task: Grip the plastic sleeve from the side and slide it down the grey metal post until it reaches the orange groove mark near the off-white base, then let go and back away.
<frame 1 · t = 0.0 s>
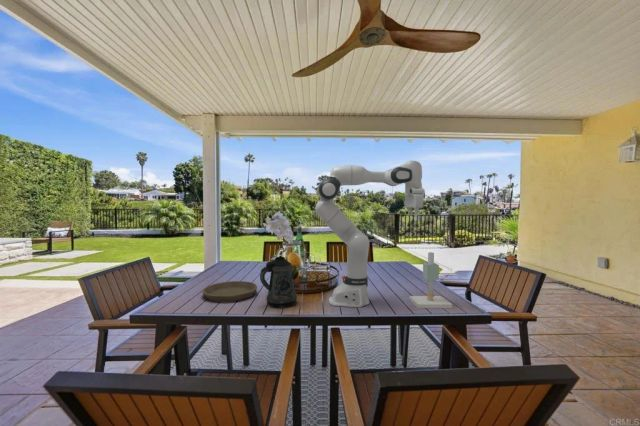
hand: (412, 215, 164), 48 cm above the table, tool pointing down, fingers open, 8 cm apart
beer stein: (279, 304, 161), on the table
sleeve: (430, 271, 162), point 18 cm above the table, slide at 0.0 cm
plant saucer: (230, 295, 176), on the table
post stand: (430, 303, 163), on the table
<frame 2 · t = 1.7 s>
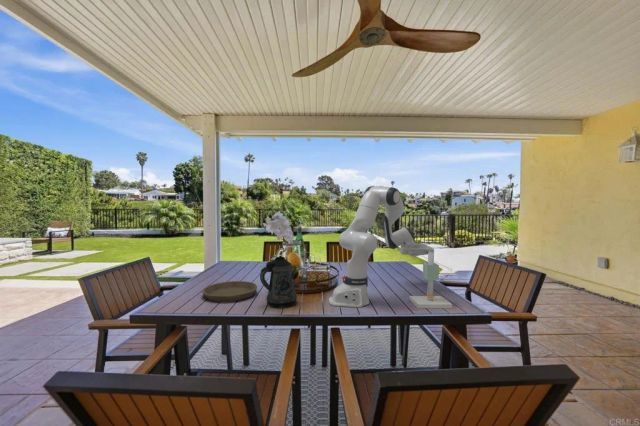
hand: (421, 253, 177), 25 cm above the table, tool horizontal, fingers open, 8 cm apart
nothing on the table moved.
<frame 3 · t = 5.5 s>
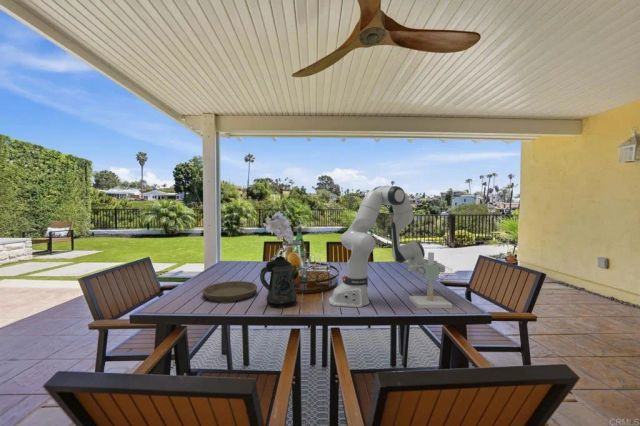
hand: (431, 271, 162), 18 cm above the table, tool horizontal, fingers closed on sleeve, 6 cm apart
sleeve: (430, 271, 162), point 18 cm above the table, slide at 0.0 cm, touching gripper
everything else where it was.
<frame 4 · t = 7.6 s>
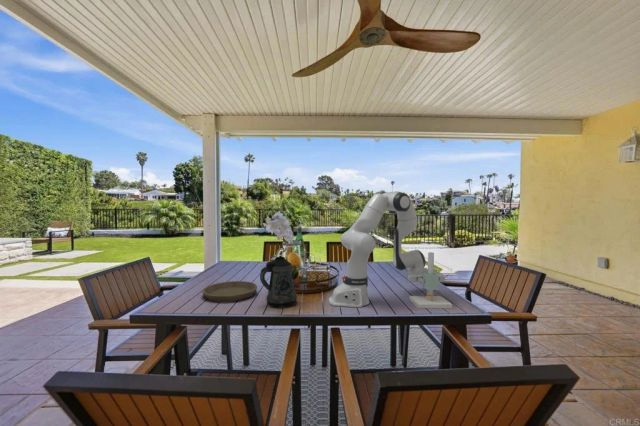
hand: (431, 281, 162), 13 cm above the table, tool horizontal, fingers closed on sleeve, 6 cm apart
sleeve: (430, 280, 163), point 13 cm above the table, slide at 5.4 cm, touching gripper
everything else where it was.
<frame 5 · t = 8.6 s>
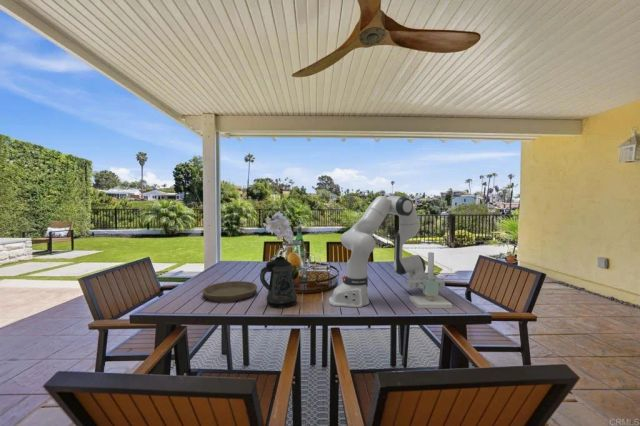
hand: (431, 287, 162), 9 cm above the table, tool horizontal, fingers closed on sleeve, 6 cm apart
sleeve: (430, 286, 163), point 9 cm above the table, slide at 8.7 cm, touching gripper
everything else where it was.
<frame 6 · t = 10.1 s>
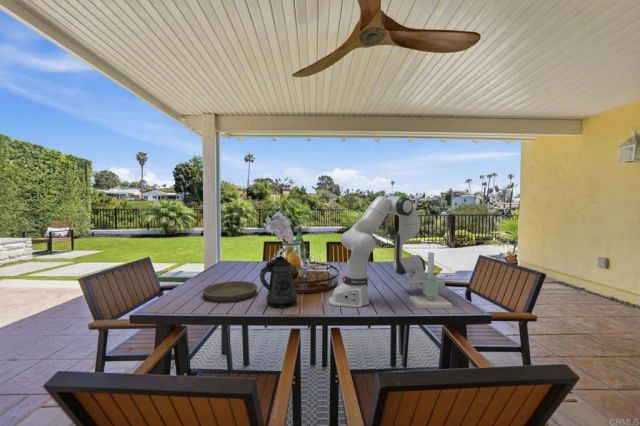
hand: (431, 287, 162), 9 cm above the table, tool horizontal, fingers open, 8 cm apart
sleeve: (430, 286, 163), point 9 cm above the table, slide at 8.7 cm
everything else where it was.
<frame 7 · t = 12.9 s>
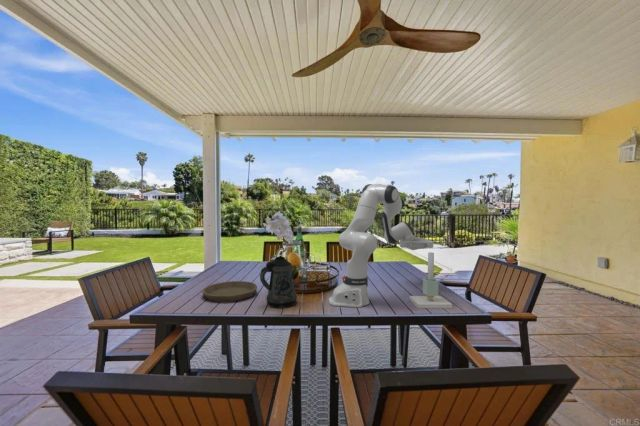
hand: (420, 246, 178), 29 cm above the table, tool horizontal, fingers open, 8 cm apart
nothing on the table moved.
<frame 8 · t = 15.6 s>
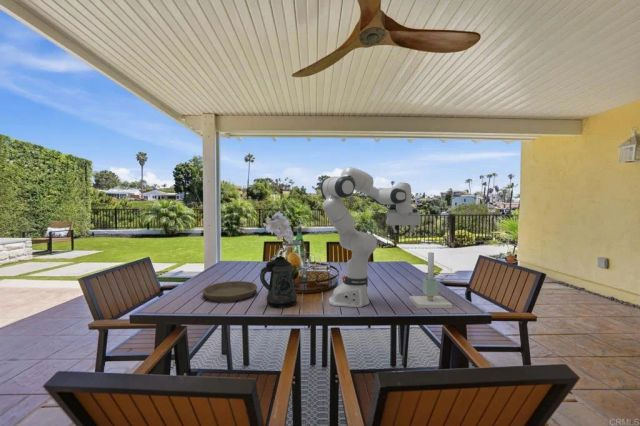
hand: (403, 232, 180), 37 cm above the table, tool pointing down, fingers open, 8 cm apart
nothing on the table moved.
at the end: sleeve slide at 8.7 cm; the gripper is holding nothing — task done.
